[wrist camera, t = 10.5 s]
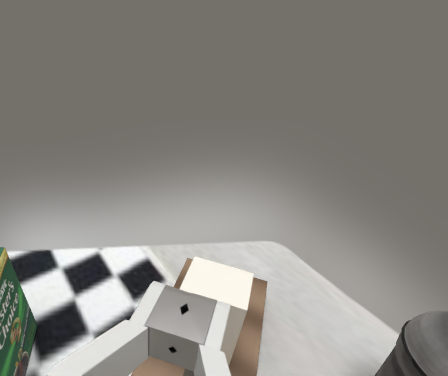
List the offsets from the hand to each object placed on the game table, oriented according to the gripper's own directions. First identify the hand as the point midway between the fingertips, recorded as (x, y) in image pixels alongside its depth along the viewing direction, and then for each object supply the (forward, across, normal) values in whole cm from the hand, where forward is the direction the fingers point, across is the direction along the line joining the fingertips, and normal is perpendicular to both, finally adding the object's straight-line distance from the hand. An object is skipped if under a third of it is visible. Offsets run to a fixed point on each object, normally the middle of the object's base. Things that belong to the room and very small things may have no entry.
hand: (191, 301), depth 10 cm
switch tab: (+10, 0, +21) cm, 23 cm away
